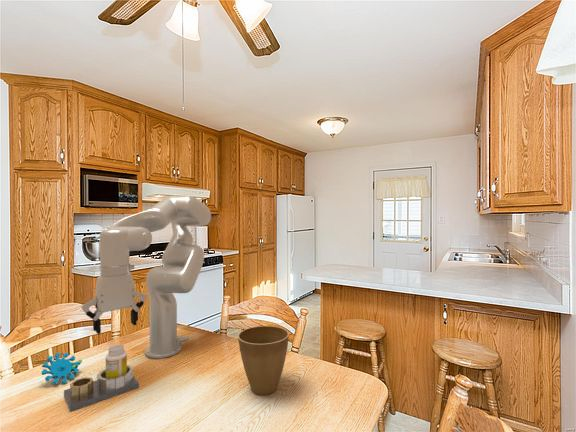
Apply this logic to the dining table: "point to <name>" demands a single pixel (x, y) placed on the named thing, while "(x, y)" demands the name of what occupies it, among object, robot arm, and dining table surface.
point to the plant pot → (263, 356)
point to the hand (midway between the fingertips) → (116, 328)
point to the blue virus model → (60, 368)
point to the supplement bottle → (116, 362)
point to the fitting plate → (98, 389)
